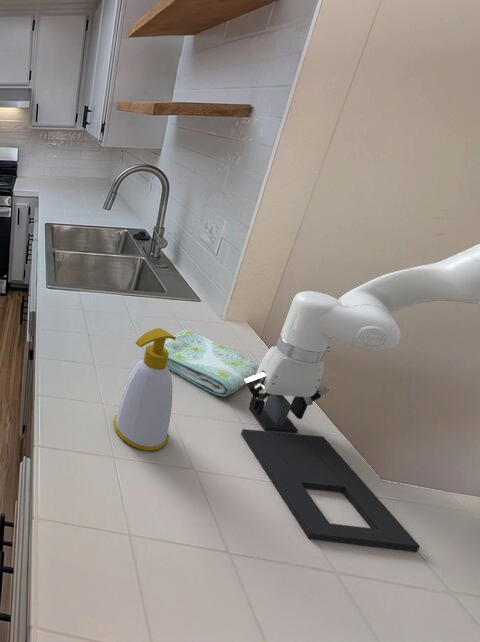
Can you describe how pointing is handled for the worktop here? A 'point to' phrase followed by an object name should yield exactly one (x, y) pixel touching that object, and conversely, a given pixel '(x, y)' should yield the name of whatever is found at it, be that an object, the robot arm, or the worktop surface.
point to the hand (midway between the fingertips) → (274, 412)
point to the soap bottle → (147, 396)
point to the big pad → (324, 474)
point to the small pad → (276, 415)
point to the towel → (208, 363)
